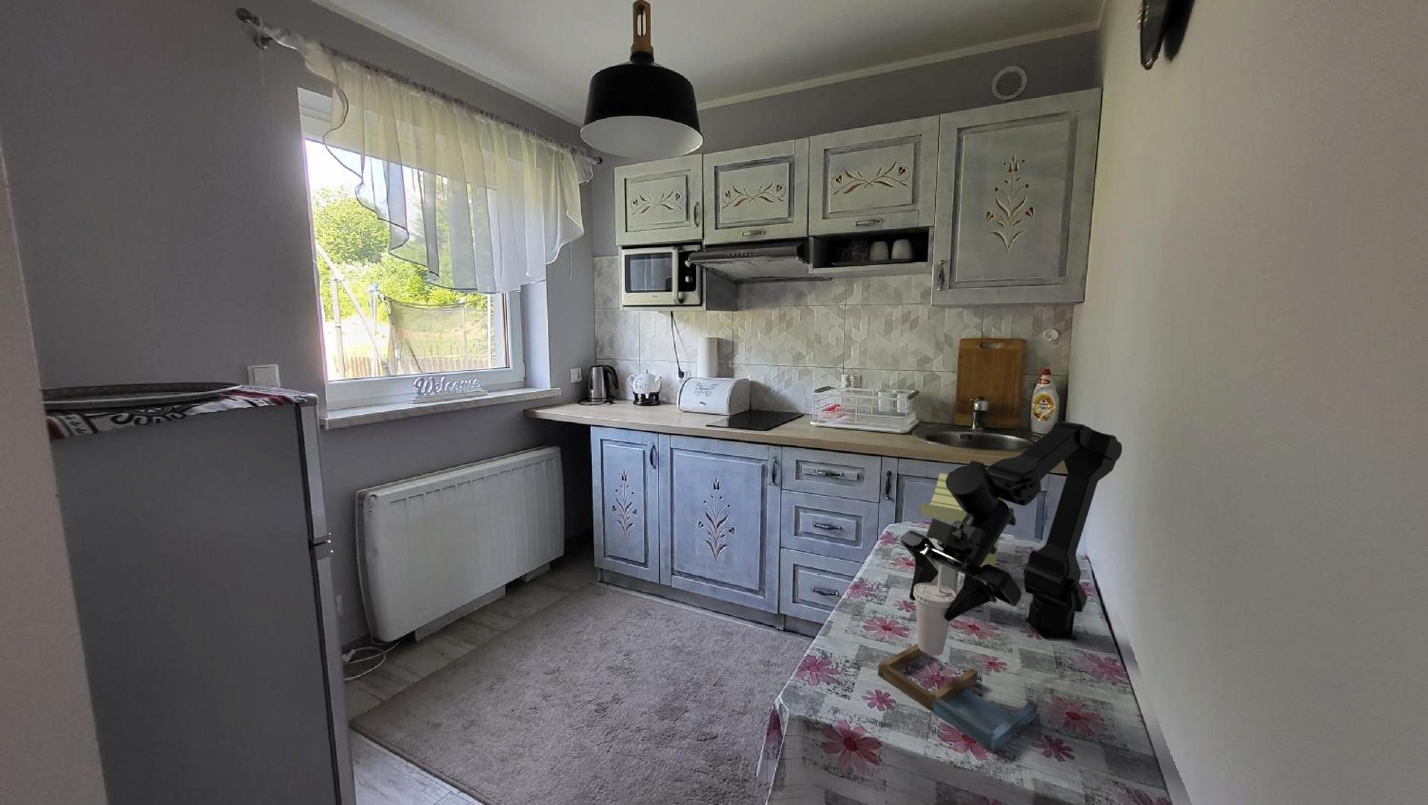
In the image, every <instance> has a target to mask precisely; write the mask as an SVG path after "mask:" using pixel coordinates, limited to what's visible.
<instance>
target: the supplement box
mask: <svg viewBox="0 0 1428 805" xmlns="http://www.w3.org/2000/svg"><path fill="white" fill-rule="evenodd" d="M929 539H930V541H931V542H932V543H933V545H934V546H935V547H936V548H937V549H939V550H941V551H942V550H943V548H942V547H940V546H939V545H938V544H937V541H938V540H936V539H934V538H932V539H931V538H929ZM948 561H950V560H949V559H948ZM950 562H952V561H950ZM952 563H953V562H952ZM939 565H942V566H943V575H942V585H944V586H946V587H948V588H950V589H952V590H953V591H954V592H955V593H956V594H957V590H958V580H959V573H960V572H959V571H956V570H954V569H952V568H950V567H948V566H946V565H944V564H942V563H940V562H937V561H936V563H935V565H934V567H935V568H936V569H937V571H938V572H939ZM938 576H939V573H938V575H937V576H936V577H935V578H934V579H933V581H932V582H931V583H937V584H938ZM914 602H916V600H915V601H914Z"/></svg>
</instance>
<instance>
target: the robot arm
mask: <svg viewBox="0 0 1428 805" xmlns="http://www.w3.org/2000/svg"><path fill="white" fill-rule="evenodd" d="M1122 453H1123V445H1122V443H1121V442H1120V441H1119V440H1118V439H1117V437H1116V436H1115V435H1114V434H1108V433H1103V432H1100V431H1097V430H1095V429H1092V428H1091V427H1089V426H1088V425H1087V426H1086V425H1085V424H1083V423H1075V422H1070V421H1064V420H1061V421H1057V422H1055V423H1054V424H1053V426H1052V428H1051V430H1050V431H1048V432H1047V433H1046V434H1044V436H1042V437H1041V438H1040V439H1038V440H1037V441H1036V442H1034V443H1033V444H1032V445H1030V446H1029V447H1028V448H1027V449H1026V450H1024V451H1023V452H1022V453H1021V454H1019V455H1018V456H1012V457H1007V458H1002V459H1000V460H998V461H996V462H994V463H992V464H990V465H989V466H988V468H987V466H985V463H984V462H979V461H978V460H977V461H976V460H973V459H972V460H971V461H970V462H969V463H968V464H967V465H962V466H959V467H957V468H955V469H954V470H952V471H950V472H949V473H948V476H947V478H946V486H947V489H948V490H949V491H950V493H951V494H952V496H953V497H954V499H955V500H956V501H957V503H958V504H959V506H960V507H961V508H962V510H963V511H965V512H966V513H967V514H966V516H965V517H964V519H963V520H962V522H960V521H958V520H956V521H955V522H953V523H952V524H951V523H950V524H949V523H947V522H944V521H943V520H940V519H937V518H933V517H932V518H931V522H930V524H929V528H928V529H927V533H926V535H924V534H920V533H918V532H916V531H914V530H909V531H906V532H905V533H904V534H903V535H902V537H901V538H900V540H899V541H900V544H902V545H903V547H904V548H905V549H906V550H907V551H908V552H909V554H910V555H911V556H912V557H913V558H914V563H915V565H914V574H913V576H912V577H913V578H912V583H911V588H910V593H909V599H910V600H911V601H912V602H916V601H915V600H916V598H915V597H914V595H913V592H914V586H915V585H917V584H919V583H923V582H932V581H933V579H934V578H935V577H936V576H937V575H938V573H939V572H938V571H937V569H936V568H935V567H934V565H935V563H936V561H937V562H940V563H942V564H944V565H946V566H948V567H950V568H952V569H954V570H956V571H959V573H961V574H963V575H964V578H963V583H962V584H963V585H962V587H961V588H960V590H959V592H958V593H956V594H957V596H956V597H955V599H954V600H953V602H952V603H951V605H950V606H949V608H948V610H947V612H946V614H945V616H944V618H945V619H946V620H947V621H950V622H951V621H952V620H954V619H956V618H958V617H959V616H961V615H963V614H965V613H967V612H969V611H970V610H972V609H975V608H977V607H980V606H983V605H985V604H987V603H990V602H992V603H993V604H997V602H998V600H999V601H1001V602H1003V603H1005V604H1007V605H1010V606H1011V607H1015V608H1016V607H1017V605H1018V603H1019V602H1020V600H1021V598H1022V589H1021V587H1020V586H1019V584H1018V583H1017V582H1016V580H1015V578H1014V577H1013V576H1012V574H1011V573H1010V572H1008V571H1005V570H1003V569H1001V568H999V567H997V566H996V565H995V566H992V565H990V564H986V565H983V566H982V567H981V565H982V563H983V562H984V560H985V559H986V557H987V555H988V554H989V553H991V554H993V555H994V554H995V552H996V550H997V549H996V548H995V546H994V544H995V543H996V541H997V540H998V538H999V539H1000V536H1001V535H1002V534H1003V532H1004V531H1005V529H1006V527H1007V526H1008V525H1010V526H1013V527H1015V526H1016V522H1017V519H1016V517H1015V514H1014V512H1015V510H1014V508H1011V507H1009V506H1008V504H1007V503H1006V502H1009V503H1012V504H1015V505H1018V506H1023V507H1024V506H1025V507H1026V506H1027V505H1029V504H1031V502H1032V501H1033V500H1035V498H1036V497H1037V495H1039V493H1040V492H1041V491H1042V482H1041V481H1042V479H1044V477H1046V475H1048V474H1049V473H1050V472H1051V471H1053V470H1054V469H1055V468H1056V467H1057V466H1058V465H1059V464H1060V463H1062V462H1063V463H1064V465H1065V469H1066V471H1067V474H1066V476H1065V477H1066V478H1065V480H1064V484H1063V488H1062V490H1061V493H1060V497H1059V500H1058V504H1057V507H1056V510H1055V514H1054V517H1053V520H1052V523H1051V526H1050V530H1049V532H1048V535H1047V539H1046V542H1045V544H1044V546H1042V547H1041V548H1039V549H1038V550H1032V551H1031V552H1030V553H1029V557H1028V561H1027V563H1026V566H1025V568H1024V570H1023V582H1024V589H1025V593H1027V594H1030V595H1032V601H1031V602H1030V603H1029V608H1028V609H1029V610H1028V616H1025V618H1024V621H1025V622H1027V624H1029V626H1031V627H1032V628H1033V630H1035V631H1036V632H1037V633H1038V634H1039V636H1040V637H1042V638H1044V639H1057V640H1058V639H1059V640H1078V638H1079V636H1078V635H1077V634H1076V633H1075V632H1074V631H1073V630H1074V629H1073V628H1074V621H1075V615H1076V613H1082V612H1084V611H1083V610H1084V608H1085V606H1086V604H1087V600H1088V595H1087V593H1086V592H1085V590H1084V589H1083V586H1082V585H1081V583H1080V582H1081V581H1080V579H1081V575H1082V571H1081V569H1080V565H1079V562H1078V559H1077V556H1076V554H1077V550H1078V547H1079V544H1080V541H1081V538H1082V534H1083V532H1084V527H1085V524H1086V522H1087V518H1088V515H1089V512H1090V509H1091V508H1090V507H1091V506H1092V505H1091V504H1092V502H1093V500H1094V499H1093V498H1094V495H1095V492H1096V488H1097V486H1098V483H1099V481H1100V480H1101V479H1103V478H1104V477H1106V476H1107V475H1108V474H1110V473H1111V472H1112V471H1113V470H1114V468H1115V466H1116V463H1117V461H1118V460H1119V459H1120V458H1121V455H1122ZM998 498H999V499H998ZM1000 499H1002V500H1003V501H1002V500H1000ZM1005 501H1006V502H1005ZM929 538H931V539H932V538H934V539H936V540H938V541H937V544H938V545H939V546H940V547H942V548H943V550H942V551H941V550H939V549H937V548H936V547H935V546H934V545H933V543H932V542H931V541H930V539H929ZM948 559H949V560H950V561H952V562H953V563H952V562H950V561H948Z"/></svg>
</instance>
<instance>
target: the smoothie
mask: <svg viewBox="0 0 1428 805" xmlns="http://www.w3.org/2000/svg"><path fill="white" fill-rule="evenodd" d="M942 575H943V566H942V565H939V576H938V584H937V583H931V582H923V583H919V584H917V585H915V586H914V592H913V595H914V597H915V598H916V601H915V614H916V629H917V630H916V631H917V632H916V633H917V643H918V647H919V649H920V650H921V651H922V652H924V653H926V655H929V656H941V655H942V654H944V649H945V645H946V642H947V636H948V633H949V628H950V624H951V621H947V620H946V619H945V618H944V616H945V614H946V612H947V610H948V608H949V606H950V605H951V603H952V602H953V600H954V599H955V597H956V596H957V594H958V593H957V592H956V593H955V592H954V591H953V590H952V589H950V588H948V587H946V586H944V585H942Z"/></svg>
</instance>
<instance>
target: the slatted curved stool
mask: <svg viewBox="0 0 1428 805" xmlns="http://www.w3.org/2000/svg"><path fill="white" fill-rule="evenodd" d="M948 474H949V473H948ZM948 474H947V473H941V472H940V473H939V474H938V478H937V483H936V485H935V486H936V487H935V490H934V494H933V495H932V498H931V502H930V503H925V502H924V503H923V502H921V503H920V511H919V512H920V513H919V514H920V516H925V517H930V518H932V519H933V518H934V519H937V520H940V521H945V522H949V523H950V524H951V523H952V524H953V522H955V521H956V520H958V521H960V522H962V520H963V519H964V517H965V516H966V514H967V513H966V512H965V511H963V510H962V508H961V507H960V506H959V504H958V503H957V501H956V500H955V499H954V497H953V496H952V494H951V493H950V491H949V490H948V489H947V486H946V478H947V476H948ZM998 499H999V498H998ZM1000 500H1002V499H1000ZM1002 501H1004V500H1002ZM999 540H1000V537H999V538H998V540H997V541H996V543H995V544H994V546H995V548H996V549H997V550H996V552H995V554H994V555H993V554H991V553H989V554H988V555H987V557H986V559H985V560H984V562H983V563H982V565H981V567H982V566H983V565H986V564H990V565H992V566H995V567H996V565H997V560H998V559H997V557H998V549H999Z"/></svg>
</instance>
